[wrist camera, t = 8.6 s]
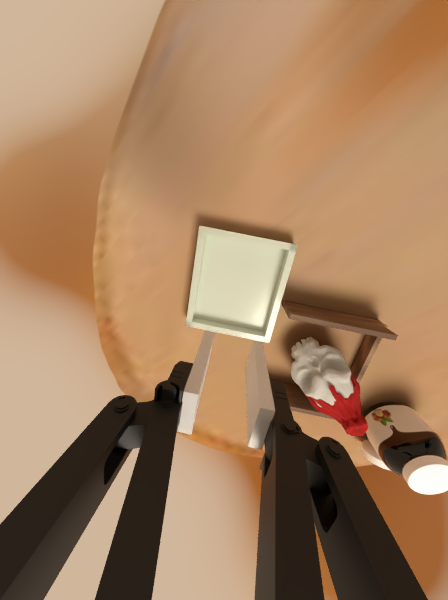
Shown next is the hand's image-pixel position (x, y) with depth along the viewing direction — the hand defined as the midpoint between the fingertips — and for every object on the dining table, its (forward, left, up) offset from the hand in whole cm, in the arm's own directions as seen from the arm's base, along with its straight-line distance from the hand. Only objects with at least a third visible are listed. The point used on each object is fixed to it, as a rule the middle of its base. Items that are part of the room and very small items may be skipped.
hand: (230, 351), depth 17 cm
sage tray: (0, 0, -21) cm, 21 cm away
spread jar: (+23, +35, -21) cm, 47 cm away
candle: (+10, +15, -22) cm, 28 cm away
